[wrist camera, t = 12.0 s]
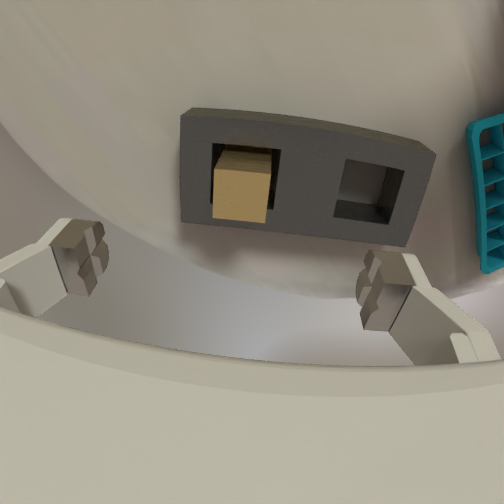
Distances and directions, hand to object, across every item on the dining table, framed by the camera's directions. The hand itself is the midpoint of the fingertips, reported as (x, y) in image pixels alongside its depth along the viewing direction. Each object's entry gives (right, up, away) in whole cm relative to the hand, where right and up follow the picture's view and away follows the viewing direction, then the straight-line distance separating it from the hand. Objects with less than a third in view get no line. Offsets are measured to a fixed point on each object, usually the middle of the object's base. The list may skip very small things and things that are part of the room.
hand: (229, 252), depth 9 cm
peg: (0, +9, +20) cm, 22 cm away
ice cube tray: (+31, +8, +19) cm, 37 cm away
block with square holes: (+6, +8, +20) cm, 22 cm away
